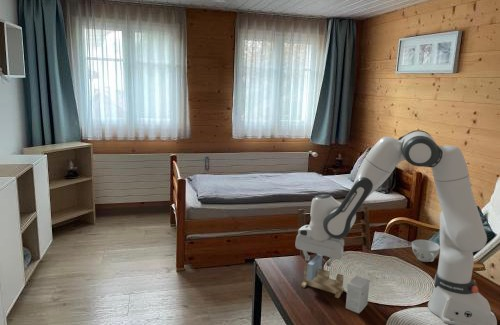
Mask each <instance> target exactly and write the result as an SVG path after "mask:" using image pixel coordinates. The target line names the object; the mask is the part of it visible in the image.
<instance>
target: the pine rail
mask: <svg viewBox="0 0 500 325" xmlns="http://www.w3.org/2000/svg"><path fill="white" fill-rule="evenodd" d="M307 267H308V264H306V265H305V266H304V269H303V281H302V282H301V284H300V287H301V288H303V289H304V288H306V287H307V286H309V287H311V288H315V289H320V290H322V291H325V292H329V293H332V294H334V298H336V299H339V298H340V297H341V295H342V294H343V293H344V291H345V287H343V286H344V274H340V273H337V274H336V276H335V277H336V278H335V279H334V278H330V272H331V271H330V270H325V269H322V268H321V269H318V270H317V275H316V276H315V278H314V279H313V280H312V281H308V280H307Z"/></svg>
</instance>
